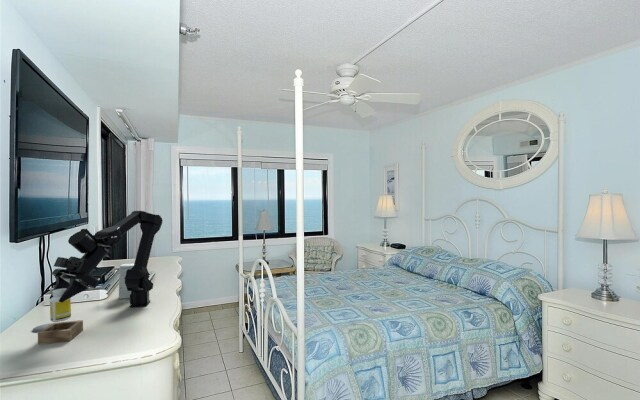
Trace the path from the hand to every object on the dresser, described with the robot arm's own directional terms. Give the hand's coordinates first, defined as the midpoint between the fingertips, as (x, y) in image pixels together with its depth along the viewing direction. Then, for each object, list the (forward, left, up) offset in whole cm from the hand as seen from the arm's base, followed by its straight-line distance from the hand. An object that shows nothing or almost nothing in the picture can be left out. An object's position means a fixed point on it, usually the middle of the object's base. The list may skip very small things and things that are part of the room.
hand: (55, 300), depth 109 cm
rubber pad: (+8, -10, -12) cm, 18 cm away
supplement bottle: (-1, -1, -7) cm, 7 cm away
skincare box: (-9, -44, -12) cm, 46 cm away
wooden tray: (-1, 0, -12) cm, 12 cm away
